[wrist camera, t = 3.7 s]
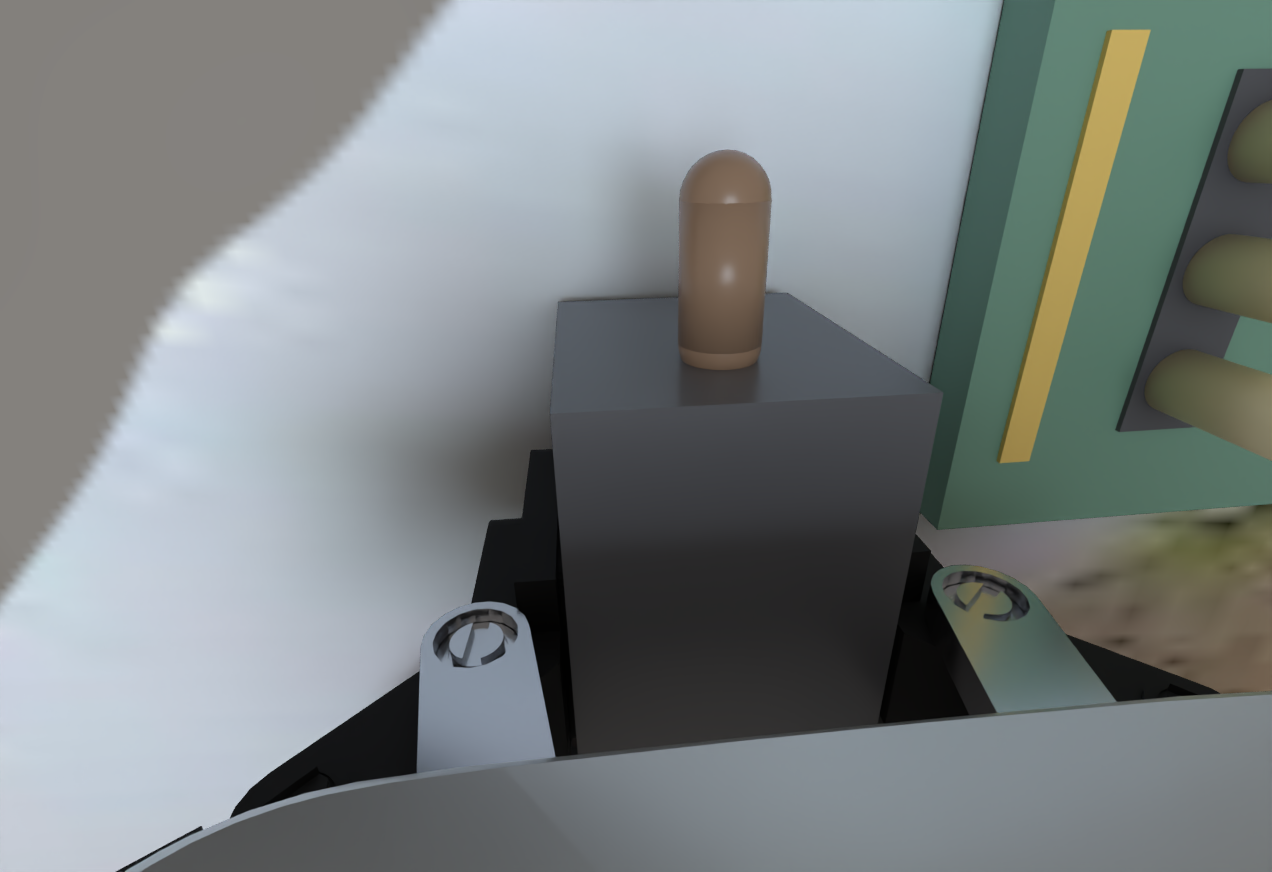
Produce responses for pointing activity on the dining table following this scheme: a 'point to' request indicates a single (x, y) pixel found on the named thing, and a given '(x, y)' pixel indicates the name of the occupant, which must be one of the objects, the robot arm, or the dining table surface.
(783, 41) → the dining table surface
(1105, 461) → the header board
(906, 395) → the plug housing
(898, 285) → the dining table surface
